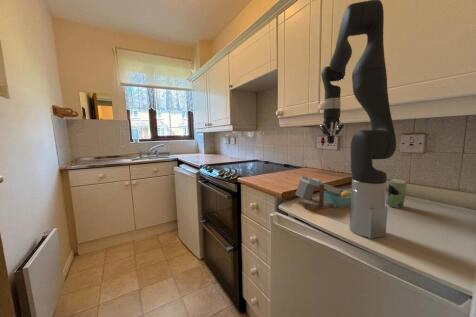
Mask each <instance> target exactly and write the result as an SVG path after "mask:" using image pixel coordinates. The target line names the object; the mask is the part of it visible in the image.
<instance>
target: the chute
mask: <svg viewBox="0 0 476 317" xmlns="http://www.w3.org/2000/svg"><path fill="white" fill-rule="evenodd" d="M320 185H324V190H325V191H332V192H335V193H338V194H340V191H341V189H342V188H338V187H335V186H333V185H330V184H327V183H324V182H322V180H321V179H317V178H315V177H312V178H310V177H308V176H307V177H306V176H305V175H301V177H300V178H299V183H298V185H297V188H296V191H295V196H297V197H298V198H301V200H309V201H310V199H311V197H312V198H313V194H314V191H315V188H316V187H317V188H320Z"/></svg>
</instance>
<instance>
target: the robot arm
mask: <svg viewBox="0 0 476 317" xmlns="http://www.w3.org/2000/svg"><path fill="white" fill-rule="evenodd" d="M384 15H385V14H384V6H383V3H382V1H381V0H364V1H359V2H354V3H350V4H349V5H348V6H346V8H345V10H344V12H343V15H342V17H341V21H340V25H339V31H338V33H337V40H336V44H335V48H334V51H333V54H332V57H331V59H330V61H329V66H328V65H327V66H325V67H323V69H322V71H321V73H320V75H321V80H322V83H323V89H324V103H323V121H322V124H319V125H318V127H319V129H320V131H321V132H322V133H323V135H325V136H327V143H328V144H334V143H335V137H336V136H338V135H339V134H340V132H341V131H342V129H343V128H344V126H345V125H344V124H342V123H341V121H340V117H341V106H342V105H341V104H342V102H341V95H340V94H341V90H342V89H341V86H340V85H334V84H332V83H331V82H340V81H342V80H344V79H345V77H346V72H345V71H346V68H347V66H348V63H349V62H350V60H351V57H352V54H353V49H352V45H351V44H350V42H349V40H348V38H349V37H354V36H362V35H366V37H367V38H366V39H367V40H366V46H365V48H364V50H363V52H362V54H361V56H359V59H358V61H357V63H356V64H355V66H354V68H353V70H352V73H351V79H352V80H351V82H352V92H353V95H354V97H355V99H356V101H357V102H358V103H359V104H360V106H361V107H362V108H363V110H364V111H365V113H367V115H368V118H369V121H370V125H371V129H367V130H366V129H364V130H358V131H356V132H354V134H353V135H352V137H351V141H350V171H351V190H350V192H351V206H350V213H349V229H350V231H351V232H353V233H354V234H356V235H358V236H361V237H366V238H368V239H370V240H371V239H377V238H382V237H386V234H387V225H388V224H387V222H388V210H389V208H388V206H386V205H385V204H386V194H387V193H386V192H387V181H388V180H387V173H386V171H385V172H384V171H382V170H379V169H377V168H375V167H374V166H373V160H386V159H389V158H391V157H392V156H393V155H394V154H395V152H396V149H397V137H396V132H395V131H396V130H395V127H394V122H393V118H392V114H391V113H392V112H391V109H390V102H389V100H390V99H389V93H388V91H389V90H388V76H387V74H388V73H387V66H386V61H385V60H386V59H385V47H384V23H385V22H384V18H385V17H384ZM344 76H345V77H344ZM341 79H342V80H341ZM339 80H340V81H339Z"/></svg>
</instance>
